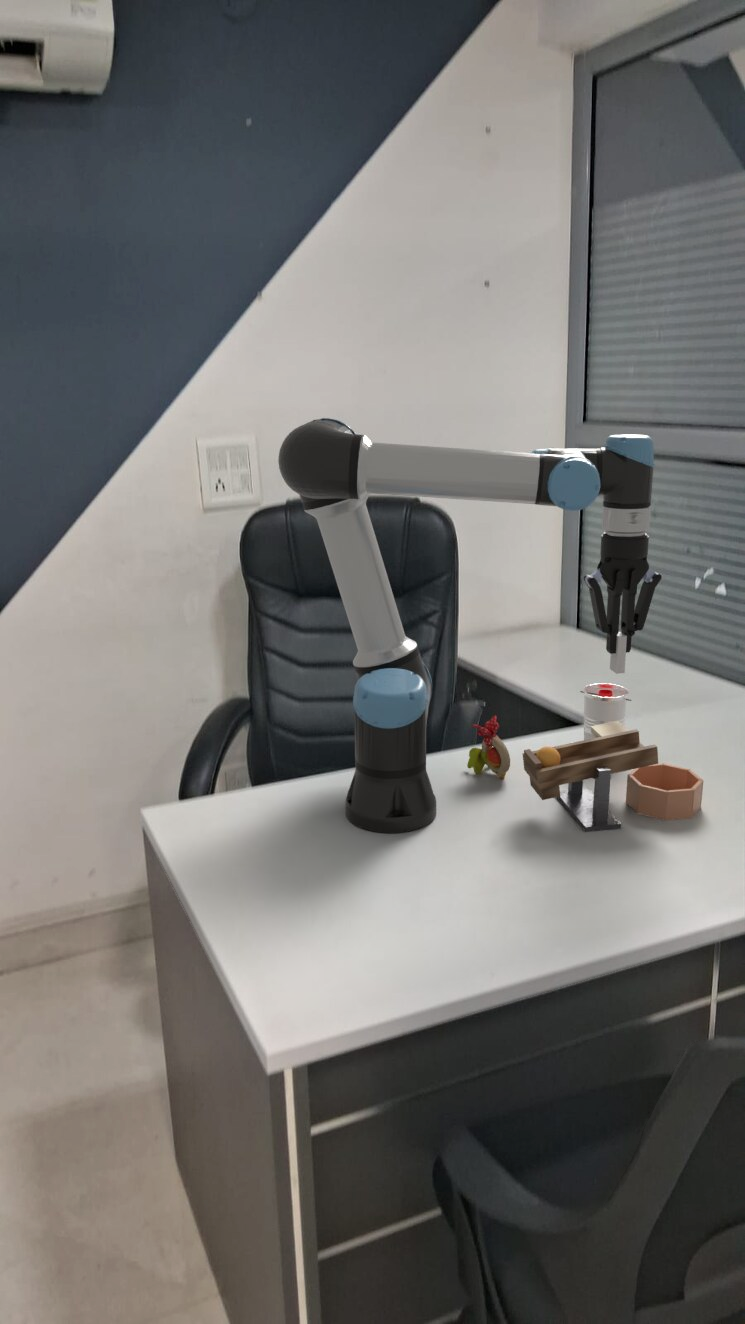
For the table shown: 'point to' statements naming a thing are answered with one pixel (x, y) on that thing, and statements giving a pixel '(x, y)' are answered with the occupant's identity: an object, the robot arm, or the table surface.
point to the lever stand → (591, 802)
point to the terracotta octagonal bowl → (664, 791)
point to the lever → (590, 758)
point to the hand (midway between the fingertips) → (617, 670)
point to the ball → (548, 757)
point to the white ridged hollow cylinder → (603, 705)
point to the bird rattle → (490, 751)
